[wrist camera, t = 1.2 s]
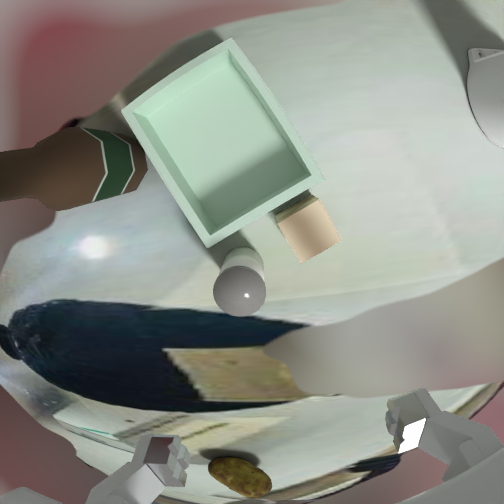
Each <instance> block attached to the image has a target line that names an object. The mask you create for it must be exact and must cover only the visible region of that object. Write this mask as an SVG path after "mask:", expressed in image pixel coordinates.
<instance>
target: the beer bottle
mask: <svg viewBox="0 0 504 504" xmlns="http://www.w3.org/2000/svg"><path fill="white" fill-rule="evenodd" d="M147 170H148V168H147V163H146V157H145V152H144V149H143V147H142V146H141V145H140V144H138V143H137V142H135V141H134V140H132V139H131V138H129V137H127V136H125V135H122V134H118V133H112V132H107V131H101V130H94V129H88V128H81V127H68V128H65V129H63V130H61V131H59V132H57V133H55V134H53V135H51V136H49V137H47V138H45V139H43V140H41V141H40V142H38V143H37V144H36V145H35V146H34V147H32V148H27V149H19V150H11V151H4V152H0V202H2V201H8V200H14V199H22V198H34V199H38V200H39V201H41V202H42V203H43V204H44V205H45V206H46V207H47V208H50V209H53V210H56V211H61V210H67V209H71V208H74V207H78V206H81V205H85V204H88V203H92V202H96V201H99V200H103V199H107V198H111V197H114V196H118V195H121V194H125V193H128V192H132V191H134V190H136V189H137V188H138V186H139V184H140V182H141V180H142V179H143V177H144V175H145V174H146V172H147Z"/></svg>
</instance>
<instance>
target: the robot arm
mask: <svg viewBox="0 0 504 504" xmlns="http://www.w3.org/2000/svg"><path fill="white" fill-rule="evenodd" d="M468 57H469V63H470V68H469V72H468V77H467V90H468V96H469V101H470V104H471V108H472V111H473V113H474V116H475V118H476V120H477V122H478V124H479V126H480V128H481V129H482V131H483V132H484V133H485V135H486V136H487V137H488V138H489V139H490V140H491V141H492V142H493V143H494V144H496V145H497V146H499V147H502V148H504V50H498V49H484V48H472V49H469V50H468ZM387 407H388V409H389V410H388V411H387V412H386V417H385V420H386V426H387V429H388V431H389V434H391V435H393V436H394V440H393V442H394V445H395V447H396V449H397V451H398V453H401V452H403V451H406V450H409V449H412V448H414V447H417V446H418V447H419V448H420V449H422V450H424V451H425V452H427V453H429V454H430V455H432V456H434V457H435V458H437V459H439V460H440V461H442V462H444V463H446V464H447V465H449V467H448V468H447V470H446V472H445V474H444V475H443V477H442V479H443V481H444V483H442V484H440V485H438V486H436V487H434V488H432V489H430V490H427V491H425V492H423V493H420V494H418V495H416V496H414V497H411V498H409V499H406V500H404V501H401V502H398V503H396V504H504V446H503V445H502V443H501V442H500V441H499V439H498V438H497V436H496V435H495V433H494V432H493V431H492V429H491V428H490V427H489V426H486V425H483V424H480V423H477V422H474V421H472V420H469V419H466V418H463V417H461V416H458V415H455V414H452V413H450V412H447V411H443V412H442V411H441V410H440V409H439V407H438V406H437V404H436V403H435V401H434V400H433V399H432V397H431V396H430V394H429V393H428V391H427V390H426V389H425V388H424V387H421V388H418V389H416V390H413V391H410V392H407V393H405V394H402V395H399V396H397V397H394V398H391V399H389V400H388V402H387ZM181 441H182V440H181V438H180V437H179V435H162V434H143V435H142V436H141V437H140V440H139V442H138V445H137V448H136V450H135V453H134V456H133V459H132V461H131V462H127V463H126V464H125V465H124V466H122V467H121V468H120V469H118V470H117V471H116V472H114V473H113V474H112V475H110V476H109V477H108V478H106V479H105V480H103V481H102V482H101V483H99V484H98V485H96V486H95V487H94V488H92V489H91V492H90V494H89V497H88V499H87V501H86V504H151V503H152V502H153V500H154V499H155V498H156V497H157V496H158V495H159V494H160V493H161V492H162V491H163V490H164V489H165V486H172V487H185V483H186V478H187V474H186V472H185V471H184V470H185V469H186V468H187V467H188V466H189V461H190V460H189V452H188V450H187V448H186V446H184V445H182V444H181ZM0 504H63V503H61V502H58V501H55V500H53V499H51V498H48V497H46V496H43V495H41V494H39V493H36V492H35V491H32V490H30V489H28V488H25V487H20V488H17V489H15V490H12V491H10V492H8V493H6V494H4V495H2V496H0Z"/></svg>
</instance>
